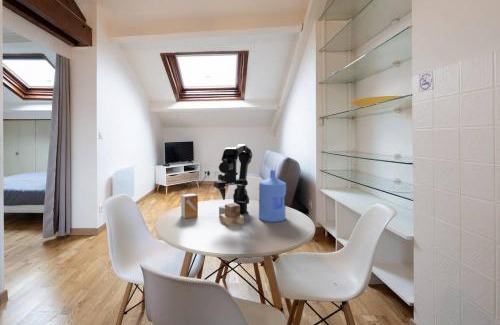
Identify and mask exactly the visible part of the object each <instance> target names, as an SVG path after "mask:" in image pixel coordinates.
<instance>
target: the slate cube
mask: <svg viewBox="0 0 500 325" xmlns="http://www.w3.org/2000/svg"><path fill="white" fill-rule="evenodd" d="M225 205H226V204H224V205H221V206H218V217H219V218H220V214H225Z"/></svg>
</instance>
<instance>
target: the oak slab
mask: <svg viewBox="0 0 500 325" xmlns="http://www.w3.org/2000/svg"><path fill="white" fill-rule="evenodd" d="M219 222H221V223H223V224H224V225H225V226H226V227H230V226H235V225H241V224H244V223H245V217H244V216H243V214H240V216H237V217H233V218H230V217H228V216H226V215H225V214H220V217H219Z"/></svg>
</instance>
